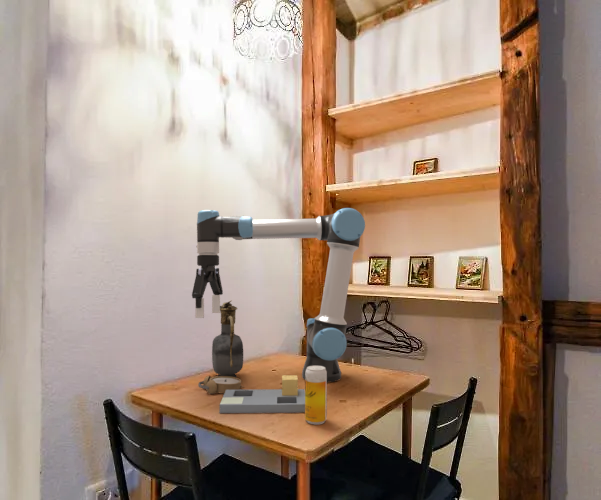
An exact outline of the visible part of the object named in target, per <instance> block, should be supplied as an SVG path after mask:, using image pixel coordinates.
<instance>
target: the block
mask: <svg viewBox="0 0 601 500" xmlns="http://www.w3.org/2000/svg"><path fill="white" fill-rule="evenodd" d="M298 379H299V378H298V375H296V374H295V375H291V374H290V375H285V374H282V375H281V389H282V395H298V389H299V388H298V387H299V380H298Z"/></svg>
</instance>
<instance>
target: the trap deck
mask: <svg viewBox="0 0 601 500" xmlns="http://www.w3.org/2000/svg"><path fill="white" fill-rule="evenodd" d="M255 413H256V414H261V413H262V414H268V413H269V414H270V413H271V414H273V413H274V414H279V413H280V414H281V413H283V414H285V413H288V414H289V413H291V414H292V413H295V414H296V413H305V388H298V395H282V388H279V389H274V388H273V389H272V388H271V389H267V388H266V389H263V388H261V389H257V388H256V389H255V388H254V389H240V390H226V391H225V393H223V396H222V398H221V401H220V403H219V412H218V414H255Z"/></svg>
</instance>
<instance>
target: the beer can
mask: <svg viewBox="0 0 601 500" xmlns="http://www.w3.org/2000/svg"><path fill="white" fill-rule="evenodd" d="M327 383H328V382H327V371H326V369H325V367H323V366H308V367H307V369H306V371H305V379H304V385H305V386H304V390H305V412H304V419H305V421H306V423H308V424H309V425H317V426H318V425H323V424H325V422H326V420H327V407H328V405H327V403H328V402H327V400H328V399H327V397H328V392H327V391H328V388H327V387H328V386H327Z"/></svg>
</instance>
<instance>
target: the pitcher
mask: <svg viewBox="0 0 601 500" xmlns="http://www.w3.org/2000/svg"><path fill="white" fill-rule="evenodd" d="M232 301H233V300H230V301H227V302H223V303H222V304H221V305H220V324H221V325H220V326H221V330H220V331H221V333H220V334H219V335H216V336H215V337H214V338H213V340H212V346H211V356H212V357H211V362H212V369H213V371H214V373H215V374H217V376H230V377H236V378H238V376H237V373H239V372H241V370H242V369H243V366H244V365H243V364H244V345H243V340H242V338H241V336H240V335H238V334H235V324H236V311H237V310H238V307H237V306H234V305H233V304H232V303H231V302H232Z"/></svg>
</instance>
